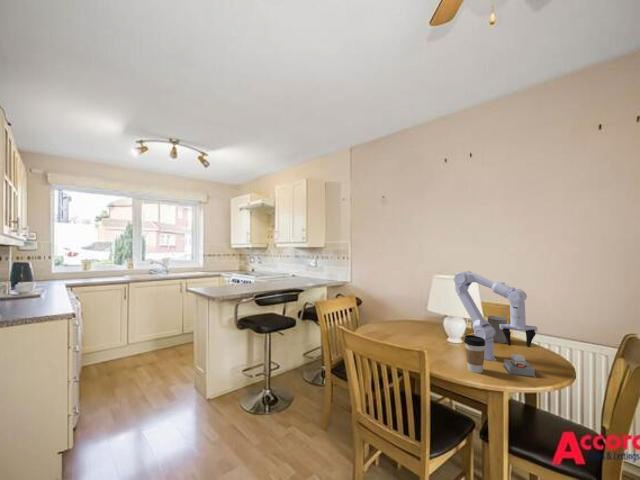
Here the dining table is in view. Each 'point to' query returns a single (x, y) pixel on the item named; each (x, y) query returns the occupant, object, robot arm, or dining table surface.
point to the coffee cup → (474, 353)
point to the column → (518, 360)
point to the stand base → (519, 369)
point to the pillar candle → (498, 328)
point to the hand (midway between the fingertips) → (518, 345)
